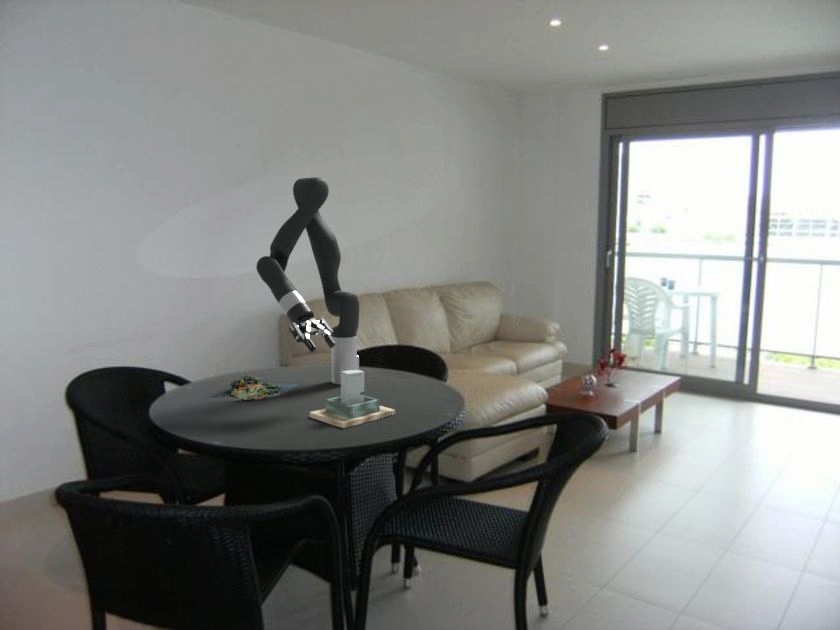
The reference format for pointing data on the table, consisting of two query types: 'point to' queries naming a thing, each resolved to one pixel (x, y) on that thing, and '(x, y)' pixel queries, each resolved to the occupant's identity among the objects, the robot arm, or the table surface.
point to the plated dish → (253, 389)
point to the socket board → (351, 412)
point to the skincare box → (352, 387)
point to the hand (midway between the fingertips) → (324, 348)
